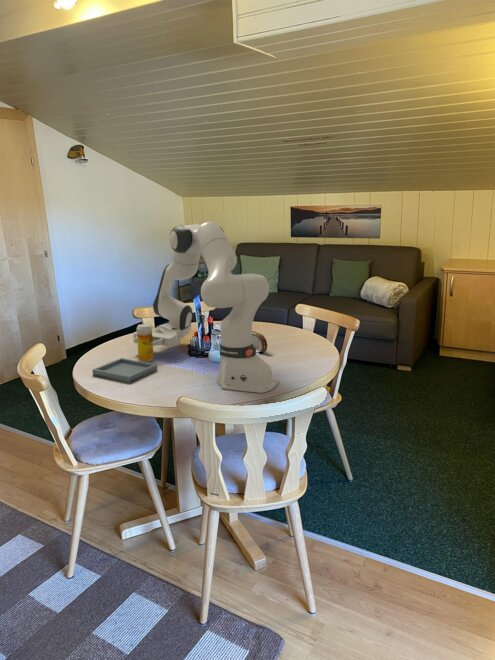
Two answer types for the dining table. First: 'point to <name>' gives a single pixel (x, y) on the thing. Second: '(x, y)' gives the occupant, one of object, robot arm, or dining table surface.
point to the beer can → (145, 342)
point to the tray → (125, 370)
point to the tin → (259, 341)
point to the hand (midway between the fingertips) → (143, 342)
